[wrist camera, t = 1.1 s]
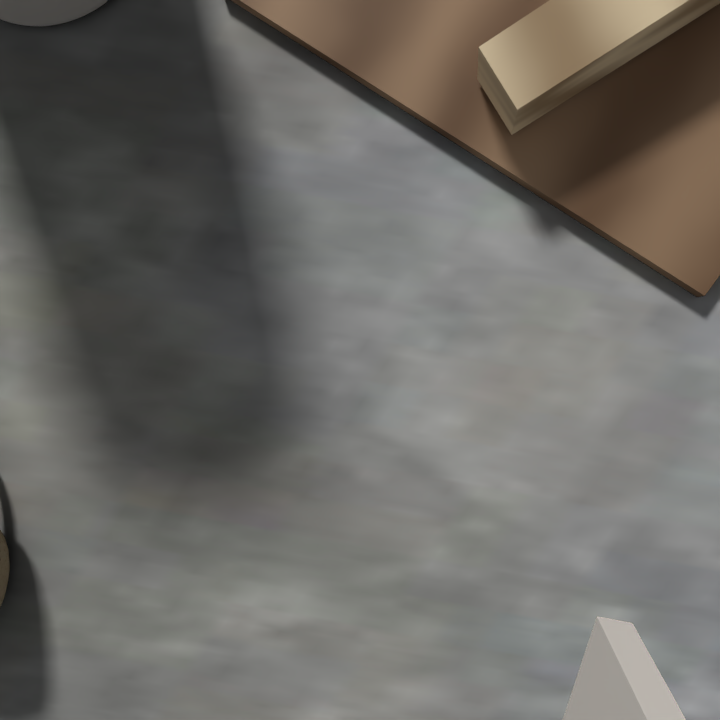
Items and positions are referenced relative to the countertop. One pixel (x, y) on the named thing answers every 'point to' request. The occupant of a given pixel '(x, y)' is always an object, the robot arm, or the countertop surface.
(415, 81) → the base
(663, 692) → the robot arm
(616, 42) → the light wooden beam
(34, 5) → the cylinder vase
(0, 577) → the ceramic mug
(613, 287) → the countertop surface
